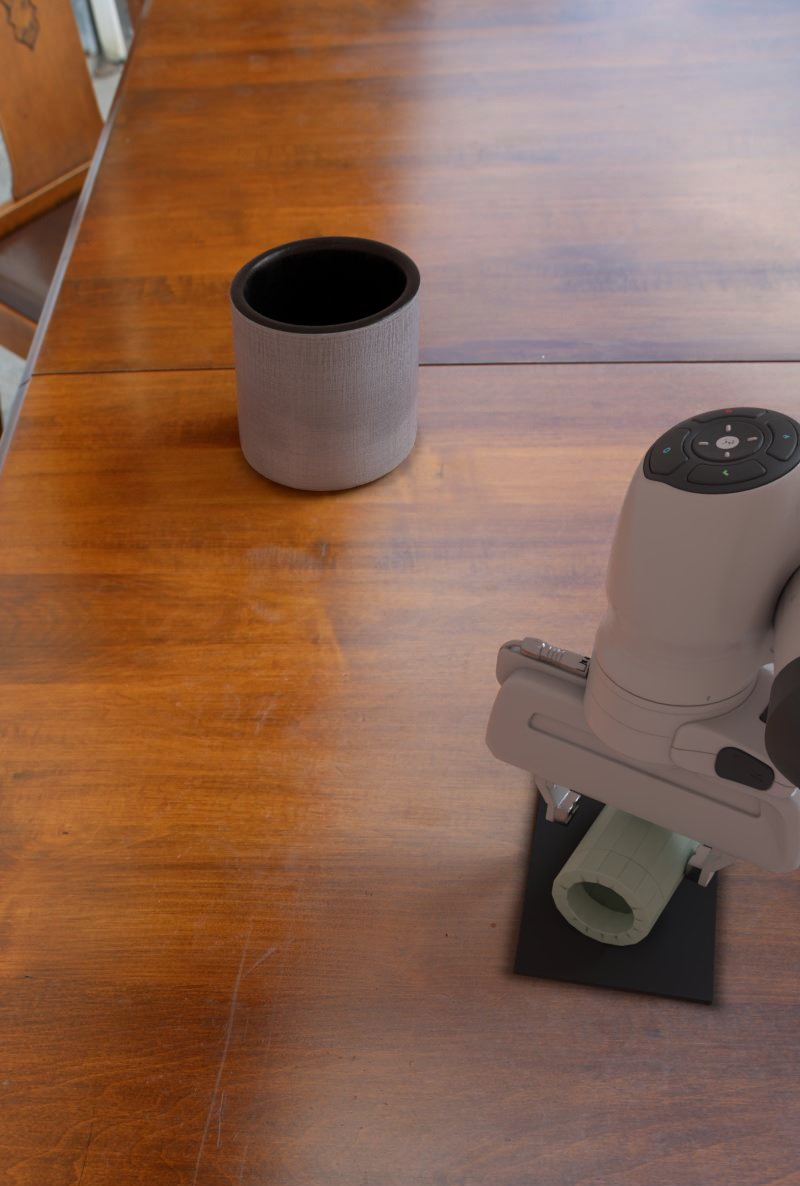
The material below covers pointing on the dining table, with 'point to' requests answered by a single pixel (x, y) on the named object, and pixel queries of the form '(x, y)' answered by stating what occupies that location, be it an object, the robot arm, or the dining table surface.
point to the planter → (327, 361)
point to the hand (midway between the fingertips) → (628, 845)
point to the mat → (652, 966)
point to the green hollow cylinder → (621, 877)
